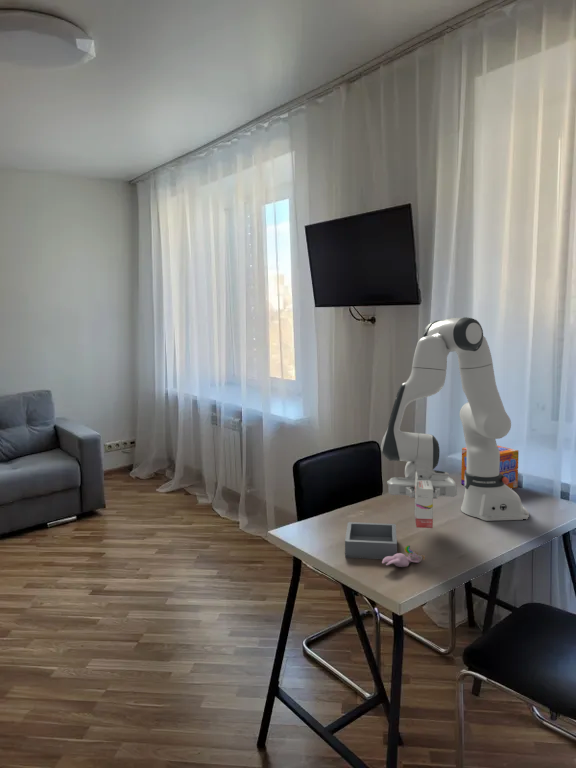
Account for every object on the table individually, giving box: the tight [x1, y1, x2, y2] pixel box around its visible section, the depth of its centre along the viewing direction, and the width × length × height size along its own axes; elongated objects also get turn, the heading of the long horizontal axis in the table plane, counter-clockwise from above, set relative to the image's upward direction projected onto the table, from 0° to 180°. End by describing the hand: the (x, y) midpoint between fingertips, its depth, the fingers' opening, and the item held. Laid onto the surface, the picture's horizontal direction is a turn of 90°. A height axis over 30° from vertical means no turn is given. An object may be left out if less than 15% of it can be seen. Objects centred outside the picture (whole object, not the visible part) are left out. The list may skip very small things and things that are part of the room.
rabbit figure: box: [381, 545, 426, 568], centre depth 155 cm, size 6×6×15 cm
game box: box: [460, 445, 520, 489], centre depth 223 cm, size 16×16×16 cm
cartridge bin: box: [344, 521, 398, 560], centre depth 167 cm, size 15×15×5 cm
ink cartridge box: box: [414, 471, 434, 529], centre depth 161 cm, size 9×5×15 cm, turn 171°
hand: (423, 495), depth 160 cm, fingers closed on ink cartridge box, 5 cm apart
